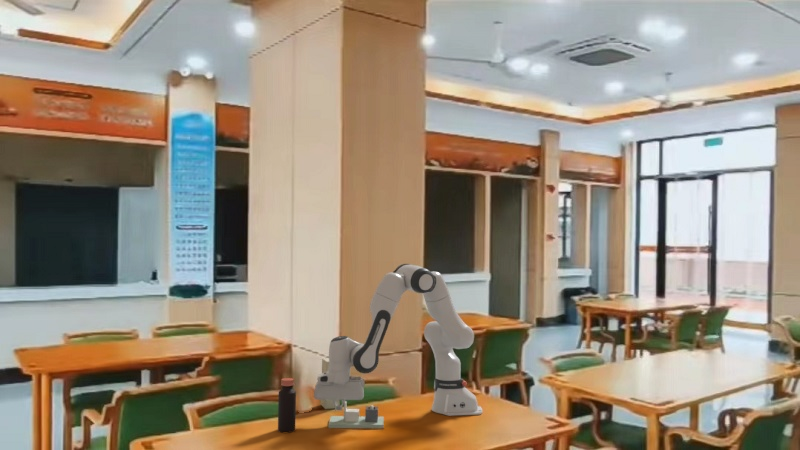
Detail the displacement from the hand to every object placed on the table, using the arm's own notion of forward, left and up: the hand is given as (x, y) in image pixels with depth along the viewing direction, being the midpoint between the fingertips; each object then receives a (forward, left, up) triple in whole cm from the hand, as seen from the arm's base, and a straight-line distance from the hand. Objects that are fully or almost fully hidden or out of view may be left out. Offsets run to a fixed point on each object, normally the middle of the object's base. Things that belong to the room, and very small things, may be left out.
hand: (338, 410), depth 271 cm
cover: (-5, 0, -4) cm, 6 cm away
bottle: (+20, +10, -6) cm, 23 cm away
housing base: (-7, 0, -5) cm, 9 cm away
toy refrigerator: (+6, -27, -6) cm, 28 cm away
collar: (-13, 0, -4) cm, 14 cm away
